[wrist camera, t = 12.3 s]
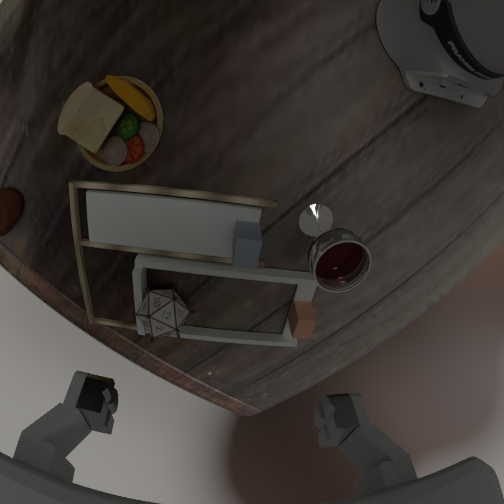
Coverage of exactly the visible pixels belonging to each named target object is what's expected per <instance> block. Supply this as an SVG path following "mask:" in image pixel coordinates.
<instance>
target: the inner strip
mask: <svg viewBox="0 0 504 504" xmlns="http://www.w3.org/2000/svg"><path fill="white" fill-rule="evenodd" d="M86 201H87V217H88V230H89V240H90V241H91V242H99V243H108V244H116V245H124V246H132V247H140V248H149V249H157V250H166V251H174V252H183V253H191V254H200V255H209V256H217V257H226V258H232V262H233V267H239V268H248V269H257V266H258V261H259V256H260V252H261V247H262V242H263V240H262V235H261V230H260V224H259V222H260V217H261V212H262V210H261V208H260V207H252V206H245V205H237V204H229V203H221V202H213V201H205V200H196V199H187V198H178V197H168V196H158V195H147V194H137V193H125V192H113V191H100V190H88V191H87V192H86Z"/></svg>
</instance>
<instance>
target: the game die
mask: <svg viewBox="0 0 504 504" xmlns="http://www.w3.org/2000/svg"><path fill="white" fill-rule="evenodd" d="M175 288H176V284H175V285H173V288H172V289H162V290H149V288H148V287H147V286H145V289H146V290H147V291H148V292H147V294H146V296H145V298H144V300H143V302H142V304H141V306H140V308H139V310H138V312H137V313H133V314H131V315H132V316H137V317H138V318H139V319H140V321H141V322H142V324H143V325H144V327H145V328H146V330H147V331H148V332H149V334H150V335H151V337H152V338H151V340H150V342H151V343H152V342H153V341H154V338H159V337H165V336H171V335H177V337H178V338H180V334H178V333H180V329H181V328H182V326H183V324H184V322H185V321H186V319H187V317H188V315H189V314H190V313H194V312H195V310H189V309H188V307H187V306H186V305H185V303H184V302H183V301H182V299H181V298H180V297H179V295H178V294H177V293H176V291H175V290H174V289H175Z"/></svg>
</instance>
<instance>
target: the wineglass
mask: <svg viewBox="0 0 504 504" xmlns="http://www.w3.org/2000/svg"><path fill="white" fill-rule="evenodd" d="M332 223H333V215H332V212H331V211H330V209H329V208H328V207H326V206H324V205H321V204H314V205H311V206H309V207H307V208H306V209H305V210H304V211H303V212H302V213H301V215H300V218H299V226H300V229H301V230H302V232H303V233H305V234H306V235H309V236H317V237H316V239H315V240H314V241H313V243H312V245H311V247H310V249H309V253H308V260H307V261H308V265H309V268H310V271H311V272H312V274H313V275H314V280H315V282H316V283H317V285H318V286H319V287H320V288H322V289H323V290H325V291H328V292H332V293H340V292H345V291H348V290H351V289H353V288H354V287H356V286H358V285H359V284H360V283H361V282H362V281H363V280H364V279H365V278H366V276H367V274H368V273H369V271H370V267H371V255H370V252H369V250H368V248H366V247H365V246H364V244H363V242H362V240H361V238H359V237H358V236H357V235H356V234H355V233H353V232H352V231H349V230H346V229H343V228H333V229H330V227H331V225H332Z"/></svg>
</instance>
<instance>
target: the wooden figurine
mask: <svg viewBox="0 0 504 504" xmlns="http://www.w3.org/2000/svg"><path fill="white" fill-rule="evenodd" d="M22 211H23V199H22V196H21V194H20V193H19V192H18V191H17V190H16V189H12V188H4V189H1V190H0V237H1V236H4V235H6V234H7V233H9V232H10V231H11V230H12V228H13V227H14V225H15V224H16V222H17V221H18V219H19V218H20V216H21V213H22Z"/></svg>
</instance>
